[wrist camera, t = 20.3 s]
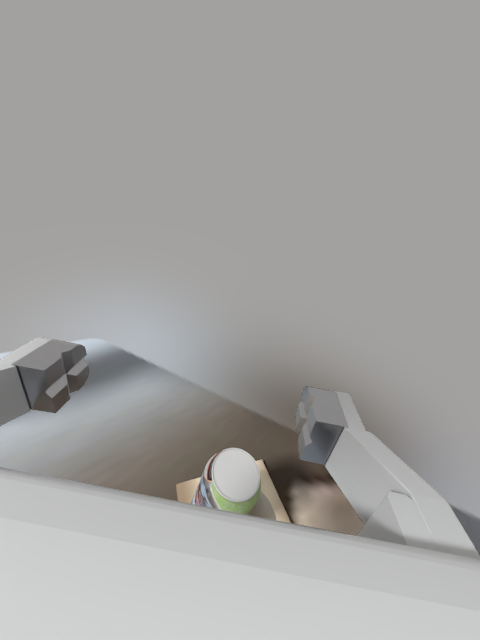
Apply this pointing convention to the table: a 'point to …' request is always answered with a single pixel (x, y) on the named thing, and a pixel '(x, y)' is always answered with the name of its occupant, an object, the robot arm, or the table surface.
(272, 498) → the birch mat
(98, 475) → the table surface
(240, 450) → the beverage can
